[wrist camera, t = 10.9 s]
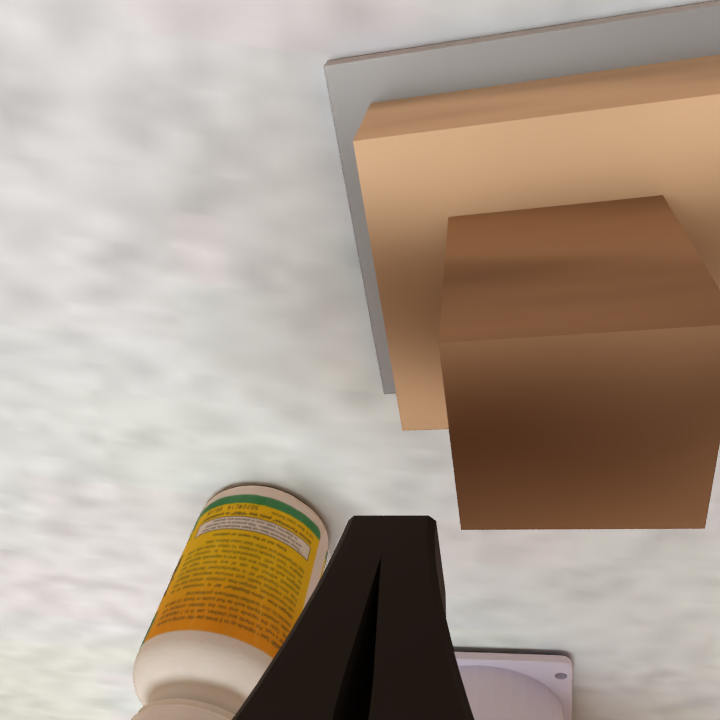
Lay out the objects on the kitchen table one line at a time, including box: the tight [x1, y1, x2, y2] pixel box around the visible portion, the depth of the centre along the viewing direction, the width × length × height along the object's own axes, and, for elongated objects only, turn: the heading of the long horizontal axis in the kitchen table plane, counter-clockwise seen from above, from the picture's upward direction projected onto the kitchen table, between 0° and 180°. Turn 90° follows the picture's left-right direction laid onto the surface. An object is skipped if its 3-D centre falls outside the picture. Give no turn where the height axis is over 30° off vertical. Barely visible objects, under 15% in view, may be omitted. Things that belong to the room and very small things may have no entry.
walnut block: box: [438, 195, 720, 530], centre depth 13 cm, size 4×4×5 cm
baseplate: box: [324, 0, 720, 394], centre depth 18 cm, size 10×10×1 cm
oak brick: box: [353, 54, 720, 431], centre depth 17 cm, size 8×8×3 cm
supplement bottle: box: [131, 485, 329, 720], centre depth 23 cm, size 5×5×10 cm
